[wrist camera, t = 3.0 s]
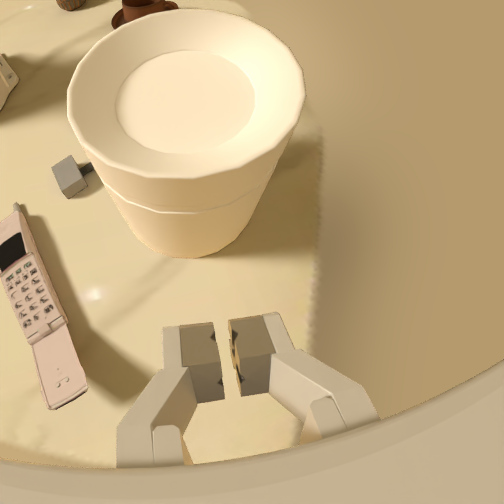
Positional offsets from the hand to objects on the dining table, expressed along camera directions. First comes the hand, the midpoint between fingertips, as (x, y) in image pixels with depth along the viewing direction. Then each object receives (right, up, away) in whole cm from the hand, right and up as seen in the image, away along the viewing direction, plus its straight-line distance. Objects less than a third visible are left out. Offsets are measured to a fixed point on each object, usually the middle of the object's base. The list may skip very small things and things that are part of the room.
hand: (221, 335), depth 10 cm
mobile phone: (-24, -3, +22) cm, 33 cm away
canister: (-7, +10, +28) cm, 30 cm away
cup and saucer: (-18, +43, +35) cm, 59 cm away
